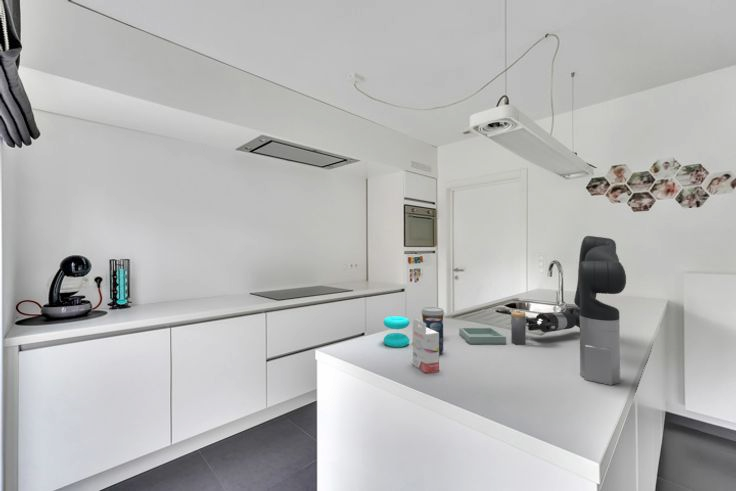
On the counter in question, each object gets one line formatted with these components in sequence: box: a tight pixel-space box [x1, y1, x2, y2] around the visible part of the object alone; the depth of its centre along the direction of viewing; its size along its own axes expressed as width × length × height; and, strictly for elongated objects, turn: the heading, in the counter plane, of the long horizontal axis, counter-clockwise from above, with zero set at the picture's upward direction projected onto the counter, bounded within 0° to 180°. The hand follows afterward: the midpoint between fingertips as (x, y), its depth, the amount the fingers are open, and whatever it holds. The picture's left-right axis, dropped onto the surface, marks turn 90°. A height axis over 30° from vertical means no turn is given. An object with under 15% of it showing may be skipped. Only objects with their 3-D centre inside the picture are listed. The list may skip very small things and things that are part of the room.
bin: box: [458, 327, 507, 346], centre depth 129 cm, size 14×14×3 cm
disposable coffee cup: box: [420, 306, 446, 324], centre depth 131 cm, size 10×10×12 cm
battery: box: [510, 309, 527, 346], centre depth 123 cm, size 5×5×13 cm
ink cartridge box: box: [412, 318, 440, 374], centre depth 99 cm, size 9×5×15 cm, turn 21°
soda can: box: [424, 317, 444, 356], centre depth 113 cm, size 7×7×12 cm
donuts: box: [383, 315, 410, 348], centre depth 123 cm, size 10×10×10 cm
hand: (520, 325), depth 124 cm, fingers open, 8 cm apart
